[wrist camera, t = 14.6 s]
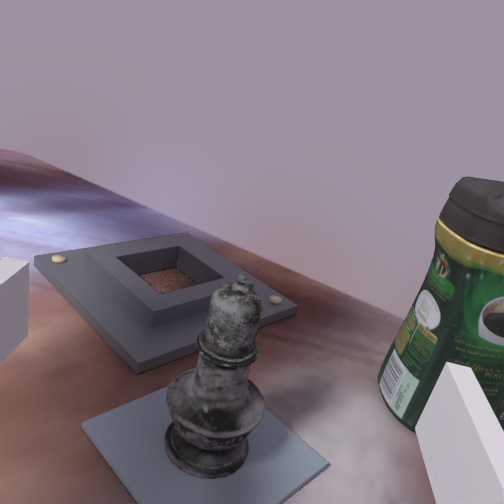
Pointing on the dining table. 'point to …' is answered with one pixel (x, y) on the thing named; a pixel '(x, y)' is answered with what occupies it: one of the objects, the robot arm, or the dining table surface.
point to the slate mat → (191, 487)
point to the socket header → (150, 294)
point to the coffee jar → (454, 306)
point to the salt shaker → (218, 389)
